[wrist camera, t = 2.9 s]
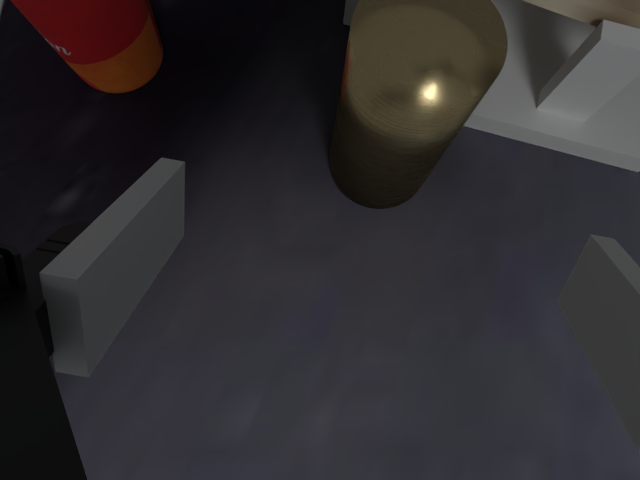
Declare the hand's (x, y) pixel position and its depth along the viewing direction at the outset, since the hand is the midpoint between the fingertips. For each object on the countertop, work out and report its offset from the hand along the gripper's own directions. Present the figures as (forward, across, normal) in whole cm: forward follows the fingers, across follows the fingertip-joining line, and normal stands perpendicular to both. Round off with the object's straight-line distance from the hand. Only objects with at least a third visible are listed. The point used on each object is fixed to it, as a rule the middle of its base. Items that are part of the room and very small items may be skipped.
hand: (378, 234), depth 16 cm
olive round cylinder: (+15, +1, -3) cm, 15 cm away
